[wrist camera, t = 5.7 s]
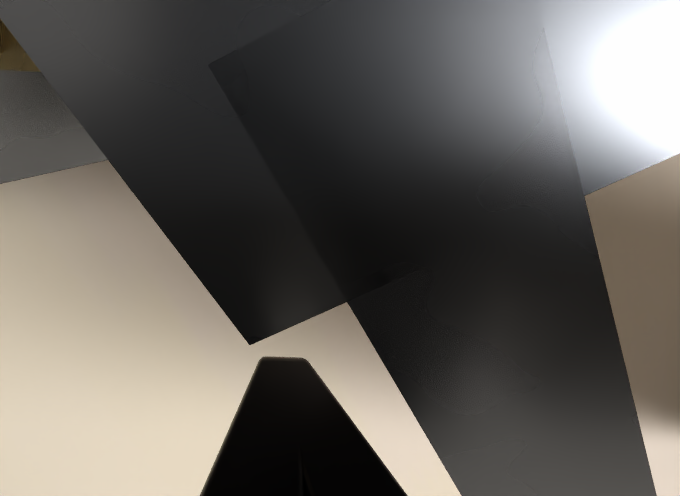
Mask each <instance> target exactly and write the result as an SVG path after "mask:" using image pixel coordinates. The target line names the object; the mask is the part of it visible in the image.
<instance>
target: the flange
mask: <svg viewBox="0 0 680 496" xmlns="http://www.w3.org/2000/svg"><path fill="white" fill-rule="evenodd" d="M105 160H108V159H107V158H106V157H105V155H104V154H103V153H102V151H101V150H100V149H99V147H98V146H97V145H96V143H95V142H94V141H93V139H92V138H91V137H90V136H89V134H88V133H87V132H86V130H85V129H84V128H83V126H82V125H81V124H80V122H79V121H78V120H77V119H76V117H75V116H74V115H73V113H72V112H71V111H70V109H69V108H68V107H67V105H66V104H65V103H64V102H63V100H62V99H61V98H60V96H59V95H58V94H57V92H56V91H55V90H54V88H53V87H52V86H51V85H50V83H49V82H48V81H47V79H46V78H45V77H44V75H43V74H42V73H41V72H34V71H16V70H0V184H2V183H6V182H11V181H15V180H20V179H24V178H29V177H33V176H38V175H42V174H47V173H51V172H55V171H60V170H64V169H69V168H73V167H78V166H82V165H87V164H91V163H96V162H100V161H105Z"/></svg>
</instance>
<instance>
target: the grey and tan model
mask: <svg viewBox="0 0 680 496" xmlns="http://www.w3.org/2000/svg"><path fill="white" fill-rule="evenodd" d="M0 70H16V71H34V72H41V73H42V74H43V75H44V77H45V78H46V79H47V81H48V82H49V83H50V85H51V86H52V87H53V88H54V90H55V91H56V92H57V94H58V95H59V96H60V98H61V99H62V100H63V102H64V103H65V104H66V105H67V107H68V108H69V109H70V111H71V112H72V113H73V115H74V116H75V117H76V119H77V120H78V121H79V122H80V124H81V125H82V126H83V128H84V129H85V130H86V132H87V133H88V134H89V136H90V137H91V138H92V139H93V141H94V142H95V143H96V145H97V146H98V147H99V149H100V150H101V151H102V153H103V154H104V155H105V157H106V158H107V159H108V160H109V162H110V163H111V164H112V166H113V167H114V168H115V170H116V171H117V172H118V174H119V175H120V176H121V177H122V179H123V180H124V181H125V183H126V184H127V185H128V187H129V188H130V189H131V191H132V192H133V193H134V194H135V196H136V197H137V198H138V200H139V201H140V202H141V204H142V205H143V206H144V208H145V209H146V210H147V212H148V213H149V214H150V215H151V217H152V218H153V219H154V221H155V222H156V223H157V225H158V226H159V227H160V229H161V230H162V231H163V232H164V234H165V235H166V236H167V238H168V239H169V240H170V242H171V243H172V244H173V246H174V247H175V248H176V249H177V251H178V252H179V253H180V255H181V256H182V257H183V259H184V260H185V261H186V263H187V264H188V265H189V266H190V268H191V269H192V270H193V272H194V273H195V274H196V276H197V277H198V278H199V280H200V281H201V282H202V284H203V285H204V286H205V287H206V289H207V290H208V291H209V293H210V294H211V295H212V297H213V298H214V299H215V301H216V302H217V303H218V304H219V306H220V307H221V308H222V310H223V311H224V312H225V314H226V315H227V316H228V318H229V319H230V320H231V321H232V323H233V324H234V325H235V327H236V328H237V329H238V331H239V332H240V333H241V335H242V336H243V337H244V339H245V340H246V341H247V342H248V344H249V345H251V344H254V343H256V342H258V341H260V340H263V339H265V338H267V337H269V336H271V335H274V334H276V333H278V332H280V331H283V330H285V329H287V328H289V327H292V326H294V325H296V324H298V323H301V322H303V321H305V320H307V319H310V318H312V317H314V316H316V315H319V314H321V313H323V312H325V311H328V310H330V309H332V308H334V307H336V306H339V305H341V304H343V303H345V302H348V304H349V306H350V307H351V309H352V311H353V312H354V314H355V316H356V317H357V319H358V321H359V323H360V324H361V326H362V328H363V329H364V331H365V333H366V334H367V336H368V338H369V339H370V341H371V343H372V345H373V346H374V348H375V350H376V351H377V353H378V355H379V356H380V358H381V360H382V361H383V363H384V365H385V367H386V368H387V370H388V372H389V373H390V375H391V377H392V378H393V380H394V382H395V384H396V385H397V387H398V389H399V390H400V392H401V394H402V395H403V397H404V399H405V400H406V402H407V404H408V406H409V407H410V409H411V411H412V412H413V414H414V416H415V417H416V419H417V421H418V422H419V424H420V426H421V428H422V429H423V431H424V433H425V434H426V436H427V438H428V439H429V441H430V443H431V445H432V446H433V448H434V450H435V451H436V453H437V455H438V456H439V458H440V460H441V461H442V463H443V465H444V467H445V468H446V470H447V472H448V473H449V475H450V477H451V478H452V480H453V482H454V484H455V485H456V487H457V489H458V490H459V492H460V494H461V495H462V496H657V495H656V491H655V487H654V483H653V479H652V475H651V470H650V466H649V462H648V458H647V454H646V450H645V446H644V441H643V437H642V433H641V429H640V425H639V421H638V417H637V412H636V408H635V404H634V400H633V396H632V392H631V388H630V383H629V379H628V375H627V371H626V367H625V363H624V359H623V354H622V350H621V346H620V342H619V338H618V334H617V330H616V325H615V321H614V317H613V313H612V309H611V305H610V301H609V296H608V292H607V288H606V284H605V280H604V276H603V272H602V267H601V263H600V259H599V255H598V251H597V247H596V243H595V239H594V234H593V230H592V226H591V222H590V218H589V214H588V210H587V205H586V201H585V197H584V196H585V195H587V194H590V193H592V192H594V191H596V190H599V189H601V188H603V187H605V186H608V185H610V184H612V183H614V182H617V181H619V180H621V179H623V178H626V177H628V176H630V175H632V174H635V173H637V172H639V171H641V170H643V169H646V168H648V167H650V166H652V165H655V164H657V163H659V162H661V161H664V160H666V159H668V158H670V157H673V156H675V155H677V154H679V153H680V0H0Z"/></svg>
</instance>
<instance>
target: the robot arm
mask: <svg viewBox="0 0 680 496" xmlns="http://www.w3.org/2000/svg"><path fill="white" fill-rule="evenodd" d="M200 496H407V494H406V493H405V492H404V490H403V489H402V488H401V486H400V485H399V483H398V482H397V481H396V479H395V478H394V477H393V475H392V474H391V473H390V471H389V470H388V469H387V467H386V466H385V465H384V463H383V462H382V460H381V459H380V458H379V456H378V455H377V454H376V452H375V451H374V450H373V448H372V447H371V446H370V444H369V443H368V442H367V440H366V439H365V437H364V436H363V435H362V433H361V432H360V431H359V429H358V428H357V427H356V425H355V424H354V423H353V421H352V420H351V419H350V417H349V416H348V414H347V413H346V412H345V410H344V409H343V408H342V406H341V405H340V404H339V402H338V401H337V400H336V398H335V397H334V396H333V394H332V393H331V391H330V390H329V389H328V387H327V386H326V385H325V383H324V382H323V381H322V379H321V378H320V377H319V375H318V374H317V373H316V371H315V370H314V369H313V367H312V366H311V364H310V363H309V362H308V361H307V360H306V359H304V358H295V357H266V356H265V357H262V358H261V359H260V360H259V362H258V364H257V366H256V369H255V371H254V373H253V375H252V378H251V380H250V382H249V385H248V387H247V389H246V391H245V394H244V396H243V398H242V401H241V403H240V405H239V407H238V410H237V412H236V414H235V417H234V419H233V421H232V423H231V426H230V428H229V430H228V433H227V435H226V437H225V439H224V442H223V444H222V446H221V449H220V451H219V453H218V455H217V458H216V460H215V462H214V465H213V467H212V469H211V471H210V474H209V476H208V478H207V481H206V483H205V485H204V487H203V490H202V492H201V494H200Z"/></svg>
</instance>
